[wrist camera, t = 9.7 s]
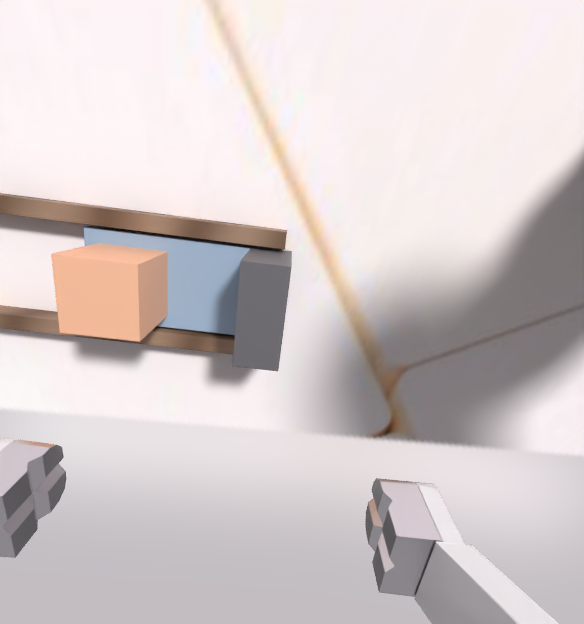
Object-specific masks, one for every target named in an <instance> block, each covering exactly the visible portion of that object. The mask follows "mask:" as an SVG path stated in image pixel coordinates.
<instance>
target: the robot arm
mask: <svg viewBox="0 0 584 624" xmlns="http://www.w3.org/2000/svg"><path fill="white" fill-rule="evenodd" d="M62 458H63V452H62V447H61V446H58V445H54V444H47V443H39V442H32V441H23V440H13V439H6V438H0V557H14V558H15V557H16V556H17V555H18V553H19V552H20V551H21V550H22V548H23V547H24V546H25V544H26V543H27V542H28V541H29V539H30V538H31V537H32V535H33V534H34V533H35V532H36V530H37V522H38V519H40V518H42V517H43V516H45V515H46V514H48V513H50V512H51V511H52V510H53V508H54V507H55V506H56V504H57V503H58V502H59V500H60V498H61V495H62V493H63V491H64V489H65V482H66V472H65V470H64V469H63V468H62V467H61V466H60V465H59V464H58V463H59V462H60V461H61V460H62ZM372 493H373V497H374V498H373V499H372V500H371V501H370V502H368V506H367V511H366V533H367V538H368V543H369V545H370V546H371V547H372V548H373V550H374V551H375V555H374V558H373V567H374V571H375V576H376V581H377V585H378V590H379V592H382V593H390V594H398V595H405V596H413V597H415V600H416V601H417V603H418V604H419V606H420V607H421V608H422V610H423V611H424V613H425V614H426V616H427V617H428V619H429V620H430V621H431V623H432V624H558V623H557V622H556V621H555V620H554V619H553V618H551V617H550V616H549V615H548V614H547V613H546V612H545V611H544V610H543V609H541V608H540V607H539V606H538V605H537V604H536V603H535V602H534V601H533V600H532V599H530V598H529V597H528V596H527V595H526V594H525V593H524V592H523V591H522V590H520V589H519V588H518V587H517V586H516V585H515V584H514V583H513V582H512V581H510V580H509V579H508V578H507V577H506V576H505V575H504V574H503V573H502V572H501V571H499V570H498V569H497V568H496V567H495V566H494V565H493V564H492V563H491V562H489V561H488V560H487V559H486V558H485V557H484V556H483V555H482V554H481V553H480V552H478V551H477V550H476V549H475V548H474V547H473V546H472V545H467V544H465V543H464V541H463V539H462V537H461V535H460V533H459V531H458V529H457V527H456V525H455V523H454V521H453V519H452V517H451V515H450V513H449V511H448V509H447V507H446V505H445V503H444V501H443V499H442V497H441V495H440V493H439V491H438V489H437V487H436V486H435V485H434V484H430V483H419V482H408V481H398V480H387V479H376V480H375V481H374V484H373V487H372Z"/></svg>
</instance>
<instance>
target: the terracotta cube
mask: <svg viewBox="0 0 584 624" xmlns="http://www.w3.org/2000/svg"><path fill="white" fill-rule="evenodd" d="M51 256H52V266H53V275H54V284H55V293H56V302H57V311H58V320H59V330H60V333H67V334H76V335H85V336H94V337H102V338H111V339H120V340H129V341H138V342H140V341H141V340H142V339H143V338H144V337H145V336H146V335H147V334H148V333H150V332H151V331H152V330H153V329H154V328H155V327H156V326H157V325H158V324H159V323H160V322H161V321H162V320H163V319H164V318H165V317H167V316H168V252H166V251H158V250H150V249H142V248H134V247H126V246H118V245H110V244H102V243H97V244H92V245H88V246H84V247H79V248H75V249H71V250H66V251H62V252H58V253H53V254H51Z"/></svg>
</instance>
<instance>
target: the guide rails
mask: <svg viewBox="0 0 584 624" xmlns="http://www.w3.org/2000/svg"><path fill="white" fill-rule="evenodd" d="M0 213H2V214H10V215H18V216H26V217H34V218H41V219H49V220H57V221H65V222H73V223H81V224H89V225H97V226H105V227H112V228H120V229H128V230H136V231H144V232H152V233H160V234H168V235H176V236H183V237H191V238H199V239H207V240H215V241H223V242H231V243H239V244H246V245H254V246H262V247H270V248H278V249H285V243H286V234H287V230H281V229H273V228H265V227H257V226H250V225H242V224H234V223H227V222H219V221H211V220H203V219H196V218H188V217H180V216H172V215H165V214H157V213H149V212H141V211H134V210H126V209H118V208H110V207H103V206H95V205H87V204H79V203H72V202H64V201H56V200H48V199H41V198H33V197H25V196H17V195H10V194H2V193H0ZM0 328H5V329H14V330H23V331H32V332H41V333H49V334H58V335H67V336H76V337H85V338H94V339H102V340H111V341H120V342H129V343H138V344H146V345H155V346H164V347H173V348H182V349H191V350H199V351H208V352H217V353H226V354H234V341H235V335H229V334H221V333H212V332H203V331H195V330H186V329H177V328H169V327H160V326H156V327H155V328H154V329H153V330H152V331H151V332H150V333H148V334H147V335H146V336H145V337H144V338H143V339H142V340H141V341H140V342H138V341H129V340H120V339H111V338H102V337H94V336H85V335H76V334H67V333H60V330H59V320H58V312H53V311H44V310H36V309H27V308H19V307H10V306H1V305H0Z"/></svg>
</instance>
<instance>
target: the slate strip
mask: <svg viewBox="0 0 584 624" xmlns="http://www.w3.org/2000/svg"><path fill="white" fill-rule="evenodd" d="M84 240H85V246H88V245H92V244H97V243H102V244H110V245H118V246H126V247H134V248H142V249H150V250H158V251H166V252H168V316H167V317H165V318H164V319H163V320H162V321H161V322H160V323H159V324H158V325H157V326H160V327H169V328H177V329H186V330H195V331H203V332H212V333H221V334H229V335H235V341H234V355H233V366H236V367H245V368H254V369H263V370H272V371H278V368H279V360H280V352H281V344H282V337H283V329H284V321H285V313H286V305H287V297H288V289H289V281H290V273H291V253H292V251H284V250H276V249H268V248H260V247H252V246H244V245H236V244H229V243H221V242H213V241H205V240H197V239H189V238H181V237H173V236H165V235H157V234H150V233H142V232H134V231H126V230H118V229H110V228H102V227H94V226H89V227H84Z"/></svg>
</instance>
